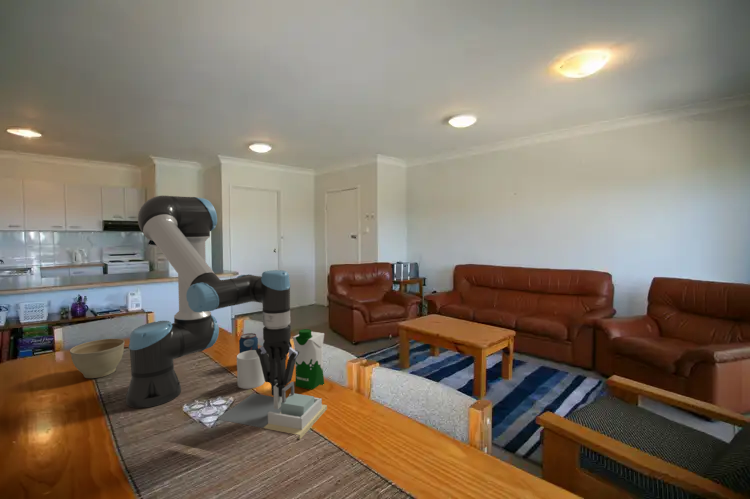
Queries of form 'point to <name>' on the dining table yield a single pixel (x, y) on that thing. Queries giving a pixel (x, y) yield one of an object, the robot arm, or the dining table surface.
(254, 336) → the soda can
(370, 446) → the dining table surface
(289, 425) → the dock
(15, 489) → the dining table surface
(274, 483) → the dining table surface
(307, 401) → the grey boxy piece
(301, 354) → the milk carton
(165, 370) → the robot arm
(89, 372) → the planter bowl
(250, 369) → the mug
